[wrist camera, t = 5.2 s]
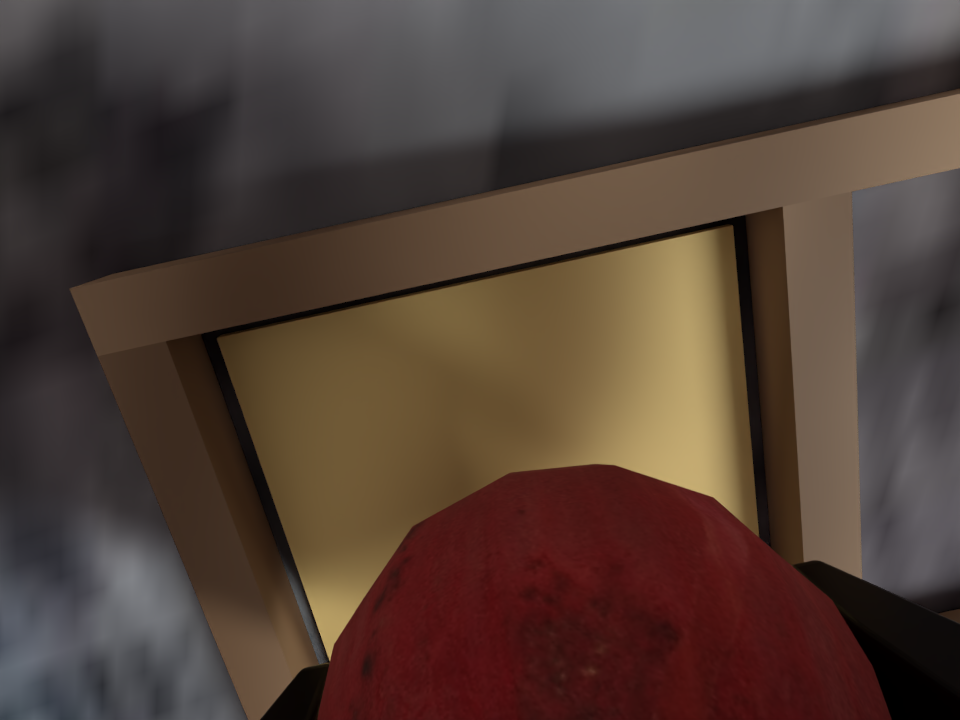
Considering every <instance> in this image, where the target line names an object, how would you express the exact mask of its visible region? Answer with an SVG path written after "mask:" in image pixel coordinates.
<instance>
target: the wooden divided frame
mask: <svg viewBox="0 0 960 720" xmlns="http://www.w3.org/2000/svg"><path fill="white" fill-rule="evenodd" d="M957 168H960V89H955V90H951V91H946V92H941V93H937V94H932V95H928V96H923V97H919V98H914V99H910V100H905V101H900V102H896V103H891V104H887V105H882V106H878V107H873V108H868V109H864V110H859V111H855V112H850V113H846V114H841V115H836V116H832V117H827V118H823V119H818V120H814V121H809V122H804V123H800V124H795V125H791V126H786V127H782V128H777V129H773V130H768V131H763V132H759V133H754V134H750V135H745V136H741V137H736V138H731V139H727V140H722V141H718V142H713V143H709V144H704V145H699V146H695V147H690V148H686V149H681V150H677V151H672V152H668V153H663V154H658V155H654V156H649V157H645V158H640V159H636V160H631V161H626V162H622V163H617V164H613V165H608V166H604V167H599V168H594V169H590V170H585V171H581V172H576V173H572V174H567V175H562V176H558V177H553V178H549V179H544V180H540V181H535V182H531V183H526V184H521V185H517V186H512V187H508V188H503V189H499V190H494V191H489V192H485V193H480V194H476V195H471V196H467V197H462V198H457V199H453V200H448V201H444V202H439V203H435V204H430V205H425V206H421V207H416V208H412V209H407V210H403V211H398V212H394V213H389V214H384V215H380V216H375V217H371V218H366V219H362V220H357V221H352V222H348V223H343V224H339V225H334V226H330V227H325V228H320V229H316V230H311V231H307V232H302V233H298V234H293V235H288V236H284V237H279V238H275V239H270V240H266V241H261V242H257V243H252V244H247V245H243V246H238V247H234V248H229V249H225V250H220V251H215V252H211V253H206V254H202V255H197V256H193V257H188V258H183V259H179V260H174V261H170V262H165V263H161V264H156V265H152V266H147V267H142V268H138V269H133V270H129V271H124V272H120V273H115V274H111V275H108V276H105V277H102V278H99V279H96V280H93V281H91V282H88V283H85V284H82V285H79V286H76V287H73V288H70V291H71V294H72V296H73V299H74V301H75V303H76V306H77V308H78V311H79V313H80V315H81V318H82V320H83V323H84V325H85V328H86V330H87V332H88V335H89V337H90V340H91V342H92V344H93V347H94V349H95V352H96V354H97V356H98V359H99V361H100V364H101V366H102V369H103V371H104V373H105V376H106V378H107V381H108V383H109V385H110V388H111V390H112V393H113V395H114V397H115V400H116V402H117V405H118V407H119V410H120V412H121V414H122V417H123V419H124V422H125V424H126V426H127V429H128V431H129V434H130V436H131V438H132V441H133V443H134V446H135V448H136V451H137V453H138V455H139V458H140V460H141V463H142V465H143V467H144V470H145V472H146V475H147V477H148V479H149V482H150V484H151V487H152V489H153V492H154V494H155V496H156V499H157V501H158V504H159V506H160V508H161V511H162V513H163V516H164V518H165V520H166V523H167V525H168V528H169V530H170V533H171V535H172V537H173V540H174V542H175V545H176V547H177V549H178V552H179V554H180V557H181V559H182V561H183V564H184V566H185V569H186V571H187V574H188V576H189V578H190V581H191V583H192V586H193V588H194V590H195V593H196V595H197V598H198V600H199V602H200V605H201V607H202V610H203V612H204V615H205V617H206V619H207V622H208V624H209V627H210V629H211V631H212V634H213V636H214V639H215V641H216V643H217V646H218V648H219V651H220V653H221V656H222V658H223V660H224V663H225V665H226V668H227V670H228V672H229V675H230V677H231V680H232V682H233V684H234V687H235V689H236V692H237V694H238V697H239V699H240V701H241V704H242V706H243V709H244V711H245V713H246V716H247V718H248V720H260V719H261V718H262V716H263V715H264V714H265V713H266V712H267V710H268V709H269V708H270V707H271V705H272V704H273V703H274V702H275V701H276V699H277V698H278V697H279V696H280V694H281V693H282V692H283V691H284V690H285V688H286V687H287V686H288V685H289V683H290V682H291V681H292V680H293V679H294V677H295V676H296V675H297V674H298V673H299V672H300V671H301V670H302V669H303V668H306V667H310V666H314V665H319V663H318V660H317V657H316V654H315V652H314V649H313V646H312V643H311V640H310V638H309V635H308V632H307V629H306V626H305V624H304V621H303V618H302V615H301V612H300V610H299V607H298V604H297V601H296V598H295V596H294V593H293V590H292V587H291V585H290V582H289V579H288V576H287V573H286V571H285V568H284V565H283V562H282V559H281V557H280V554H279V551H278V548H277V545H276V543H275V540H274V537H273V534H272V531H271V529H270V526H269V523H268V520H267V517H266V515H265V512H264V509H263V506H262V503H261V501H260V498H259V495H258V492H257V489H256V487H255V484H254V481H253V478H252V475H251V473H250V470H249V467H248V464H247V461H246V459H245V456H244V453H243V450H242V447H241V445H240V442H239V439H238V436H237V434H236V431H235V428H234V425H233V422H232V420H231V417H230V414H229V411H228V408H227V406H226V403H225V400H224V397H223V394H222V392H221V389H220V386H219V383H218V380H217V378H216V375H215V372H214V369H213V366H212V364H211V361H210V358H209V355H208V352H207V350H206V347H205V344H204V341H203V338H202V336H201V333H206V332H211V331H215V330H220V329H224V328H229V327H234V326H238V325H243V324H247V323H252V322H256V321H261V320H266V319H270V318H275V317H279V316H284V315H288V314H293V313H298V312H302V311H307V310H311V309H316V308H321V307H325V306H330V305H334V304H339V303H343V302H348V301H353V300H357V299H362V298H366V297H371V296H376V295H380V294H385V293H389V292H394V291H398V290H403V289H408V288H412V287H417V286H421V285H426V284H430V283H435V282H440V281H444V280H449V279H453V278H458V277H463V276H467V275H472V274H476V273H481V272H485V271H490V270H495V269H499V268H504V267H508V266H513V265H517V264H522V263H527V262H531V261H536V260H540V259H545V258H550V257H554V256H559V255H563V254H568V253H572V252H577V251H582V250H586V249H591V248H595V247H600V246H605V245H609V244H614V243H618V242H623V241H627V240H632V239H637V238H641V237H646V236H650V235H655V234H659V233H664V232H669V231H673V230H678V229H682V228H687V227H692V226H696V225H701V224H705V223H710V222H714V221H719V220H724V219H728V218H733V217H737V216H742V215H745V217H746V230H747V243H748V256H749V269H750V282H751V295H752V307H753V320H754V333H755V346H756V359H757V372H758V385H759V398H760V411H761V424H762V436H763V449H764V462H765V475H766V488H767V501H768V514H769V527H770V540H771V548H772V549H773V550H774V551H775V552H776V553H777V554H778V555H780V556H781V557H782V558H783V559H784V560H785V561H787V562H788V563H789V564H790V565H793V564H798V563H803V562H807V561H812V560H819V561H822V562H825V563H827V564H829V565H831V566H834V567H836V568H838V569H840V570H842V571H845V572H847V573H849V574H851V575H854V576H856V577H858V578H860V579H862V558H861V520H860V482H859V445H858V407H857V369H856V331H855V293H854V256H853V218H852V191H856V190H861V189H866V188H870V187H875V186H879V185H884V184H888V183H893V182H898V181H902V180H907V179H911V178H916V177H921V176H925V175H930V174H934V173H939V172H943V171H948V170H953V169H957ZM217 341H218V344H219V347H220V349H221V352H222V355H223V358H224V361H225V364H226V367H227V369H228V372H229V375H230V378H231V381H232V384H233V387H234V389H235V392H236V395H237V398H238V401H239V404H240V407H241V409H242V412H243V415H244V418H245V421H246V424H247V427H248V429H249V432H250V435H251V438H252V441H253V444H254V447H255V449H256V452H257V455H258V458H259V461H260V464H261V466H262V469H263V472H264V475H265V478H266V481H267V484H268V486H269V489H270V492H271V495H272V498H273V501H274V504H275V506H276V509H277V512H278V515H279V518H280V521H281V524H282V526H283V529H284V532H285V535H286V538H287V541H288V544H289V546H290V549H291V552H292V555H293V558H294V561H295V564H296V566H297V569H298V572H299V575H300V578H301V581H302V583H303V586H304V589H305V592H306V595H307V598H308V601H309V603H310V606H311V609H312V612H313V615H314V618H315V621H316V623H317V626H318V629H319V632H320V635H321V638H322V641H323V643H324V646H325V649H326V652H327V655H328V658H329V661H330V659H331V655H332V650H333V646H334V643H335V642H336V640H337V639H338V637H339V636H340V634H341V633H342V631H343V629H344V628H345V626H346V625H347V623H348V622H349V620H350V619H351V617H352V616H353V614H354V612H355V611H356V609H357V608H358V606H359V605H360V603H361V602H362V600H363V598H364V597H365V595H366V594H367V593H368V591H369V590H370V588H371V587H372V585H373V584H374V582H375V581H376V579H377V578H378V576H379V575H380V573H381V572H382V570H383V569H384V567H385V566H386V564H387V563H388V562H389V560H390V559H391V557H392V556H393V554H394V553H395V551H396V550H397V548H398V547H399V545H400V544H401V542H402V541H403V539H404V538H405V536H406V535H407V533H408V532H409V531H410V529H411V528H412V526H414V525H416V524H418V523H419V522H421V521H423V520H425V519H427V518H428V517H430V516H432V515H434V514H436V513H437V512H439V511H441V510H443V509H445V508H447V507H448V506H450V505H452V504H454V503H456V502H457V501H459V500H461V499H463V498H465V497H467V496H468V495H470V494H472V493H474V492H476V491H477V490H479V489H481V488H483V487H485V486H486V485H488V484H490V483H492V482H494V481H496V480H497V479H499V478H501V477H503V476H505V475H506V474H508V473H511V472H520V471H530V470H540V469H550V468H559V467H569V466H579V465H589V464H606V465H616V466H619V467H622V468H625V469H628V470H631V471H634V472H637V473H640V474H643V475H647V476H650V477H653V478H656V479H659V480H662V481H665V482H668V483H671V484H674V485H677V486H680V487H683V488H686V489H690V490H693V491H696V492H699V493H702V494H705V495H708V496H711V497H714V498H715V499H716V500H717V501H718V502H719V503H721V504H722V505H723V506H724V507H725V508H726V509H727V510H728V511H730V512H731V513H732V514H733V515H734V516H735V517H736V518H738V519H739V520H740V521H741V522H742V523H743V524H744V525H745V526H747V527H748V528H749V529H750V530H751V531H752V532H753V533H755V534H756V535H757V536H758V537H759V530H758V518H757V506H756V494H755V482H754V470H753V458H752V446H751V434H750V422H749V410H748V398H747V386H746V375H745V363H744V351H743V339H742V327H741V315H740V303H739V291H738V279H737V267H736V255H735V243H734V231H733V225H729V224H726V225H722V226H717V227H713V228H708V229H703V230H699V231H694V232H690V233H685V234H681V235H676V236H671V237H667V238H662V239H658V240H653V241H648V242H644V243H639V244H635V245H630V246H626V247H621V248H616V249H612V250H607V251H603V252H598V253H593V254H589V255H584V256H580V257H575V258H571V259H566V260H561V261H557V262H552V263H548V264H543V265H539V266H534V267H529V268H525V269H520V270H516V271H511V272H506V273H502V274H497V275H493V276H488V277H484V278H479V279H474V280H470V281H465V282H461V283H456V284H451V285H447V286H442V287H438V288H433V289H429V290H424V291H419V292H415V293H410V294H406V295H401V296H397V297H392V298H387V299H383V300H378V301H374V302H369V303H364V304H360V305H355V306H351V307H346V308H342V309H337V310H332V311H328V312H323V313H319V314H314V315H309V316H305V317H300V318H296V319H291V320H287V321H282V322H277V323H273V324H268V325H264V326H259V327H254V328H250V329H245V330H241V331H236V332H232V333H227V334H222V335H220V336H219V337H217ZM938 614H940V615H942V616H944V617H947V618H949V619H951V620H953V621H955V622H958V623H960V609H957V610H952V611H947V612H943V613H938Z"/></svg>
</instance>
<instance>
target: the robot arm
mask: <svg viewBox="0 0 960 720" xmlns="http://www.w3.org/2000/svg"><path fill="white" fill-rule="evenodd" d="M791 566H793V567H794V568H795V569H796V570H797V571H798V572H800V573H801V574H802V575H803V576H804V577H806V578H807V579H808V580H809V581H810V582H811V583H813V584H814V585H815V586H816V587H817V588H818V589H820V590H821V591H822V592H823V593H824V594H826V595H827V596H828V597H829V598H830V599H831V600H832V601H833V602H834V604H835V606H836V607H837V609H838V610H839V612H840V614H841V615H842V617H843V619H844V620H845V622H846V624H847V625H848V627H849V628H850V630H851V632H852V633H853V635H854V637H855V638H856V640H857V641H858V643H859V645H860V646H861V648H862V650H863V651H864V653H865V655H866V656H867V658H868V659H869V661H870V663H871V664H872V666H873V669H874V671H875V674H876V677H877V680H878V682H879V685H880V688H881V691H882V693H883V696H884V699H885V702H886V704H887V707H888V710H889V713H890V716H891V718H892V720H960V623H958V622H955V621H953V620H951V619H949V618H947V617H944V616H942V615H940V614H938V613H936V612H933V611H931V610H929V609H927V608H924V607H922V606H920V605H918V604H916V603H913V602H911V601H909V600H907V599H905V598H902V597H900V596H898V595H896V594H893V593H891V592H889V591H887V590H885V589H882V588H880V587H878V586H876V585H873V584H871V583H869V582H867V581H865V580H862V579H860V578H858V577H856V576H854V575H851V574H849V573H847V572H845V571H842V570H840V569H838V568H836V567H834V566H831V565H829V564H827V563H825V562H822V561H819V560H812V561H807V562H803V563H798V564H793V565H791ZM329 664H330V663H324V664H319V665H314V666H310V667H306V668H303V669H302V670H301V671H300V672H299V673H298V674H297V675H296V676H295V677H294V679H293V680H292V681H291V682H290V683H289V685H288V686H287V687H286V688H285V690H284V691H283V692H282V693H281V694H280V696H279V697H278V698H277V699H276V701H275V702H274V703H273V704H272V705H271V707H270V708H269V709H268V710H267V712H266V713H265V714H264V715H263V716H262V718H261V719H260V720H317V719H318V714H319V708H320V704H321V699H322V695H323V690H324V686H325V681H326V677H327V673H328V668H329Z"/></svg>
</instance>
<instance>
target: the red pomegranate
mask: <svg viewBox="0 0 960 720" xmlns="http://www.w3.org/2000/svg"><path fill="white" fill-rule="evenodd" d="M317 720H892V718H891V716H890V713H889V710H888V707H887V704H886V702H885V699H884V696H883V693H882V691H881V688H880V685H879V682H878V680H877V677H876V674H875V671H874V669H873V666H872V664H871V663H870V661H869V659H868V658H867V656H866V655H865V653H864V651H863V650H862V648H861V646H860V645H859V643H858V641H857V640H856V638H855V637H854V635H853V633H852V632H851V630H850V628H849V627H848V625H847V624H846V622H845V620H844V619H843V617H842V615H841V614H840V612H839V610H838V609H837V607H836V606H835V604H834V602H833V601H832V600H831V599H830V598H829V597H828V596H827V595H826V594H824V593H823V592H822V591H821V590H820V589H818V588H817V587H816V586H815V585H814V584H813V583H811V582H810V581H809V580H808V579H807V578H806V577H804V576H803V575H802V574H801V573H800V572H798V571H797V570H796V569H795V568H794V567H793V566H791V565H790V564H789V563H788V562H787V561H785V560H784V559H783V558H782V557H781V556H780V555H778V554H777V553H776V552H775V551H774V550H773V549H772V548H770V547H769V546H768V545H767V544H766V543H765V542H764V541H762V540H761V539H760V538H759V537H758V536H757V535H756V534H755V533H753V532H752V531H751V530H750V529H749V528H748V527H747V526H745V525H744V524H743V523H742V522H741V521H740V520H739V519H738V518H736V517H735V516H734V515H733V514H732V513H731V512H730V511H728V510H727V509H726V508H725V507H724V506H723V505H722V504H721V503H719V502H718V501H717V500H716V499H715V498H714V497H711V496H708V495H705V494H702V493H699V492H696V491H693V490H690V489H686V488H683V487H680V486H677V485H674V484H671V483H668V482H665V481H662V480H659V479H656V478H653V477H650V476H647V475H643V474H640V473H637V472H634V471H631V470H628V469H625V468H622V467H619V466H616V465H606V464H589V465H579V466H569V467H559V468H550V469H540V470H530V471H520V472H511V473H508V474H506V475H505V476H503V477H501V478H499V479H497V480H496V481H494V482H492V483H490V484H488V485H486V486H485V487H483V488H481V489H479V490H477V491H476V492H474V493H472V494H470V495H468V496H467V497H465V498H463V499H461V500H459V501H457V502H456V503H454V504H452V505H450V506H448V507H447V508H445V509H443V510H441V511H439V512H437V513H436V514H434V515H432V516H430V517H428V518H427V519H425V520H423V521H421V522H419V523H418V524H416V525H414V526H412V528H411V529H410V531H409V532H408V533H407V535H406V536H405V538H404V539H403V541H402V542H401V544H400V545H399V547H398V548H397V550H396V551H395V553H394V554H393V556H392V557H391V559H390V560H389V562H388V563H387V564H386V566H385V567H384V569H383V570H382V572H381V573H380V575H379V576H378V578H377V579H376V581H375V582H374V584H373V585H372V587H371V588H370V590H369V591H368V593H367V594H366V595H365V597H364V598H363V600H362V602H361V603H360V605H359V606H358V608H357V609H356V611H355V612H354V614H353V616H352V617H351V619H350V620H349V622H348V623H347V625H346V626H345V628H344V629H343V631H342V633H341V634H340V636H339V637H338V639H337V640H336V642H335V643H334V646H333V650H332V655H331V659H330V664H329V668H328V673H327V677H326V681H325V686H324V690H323V695H322V699H321V704H320V708H319V714H318V719H317Z"/></svg>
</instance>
